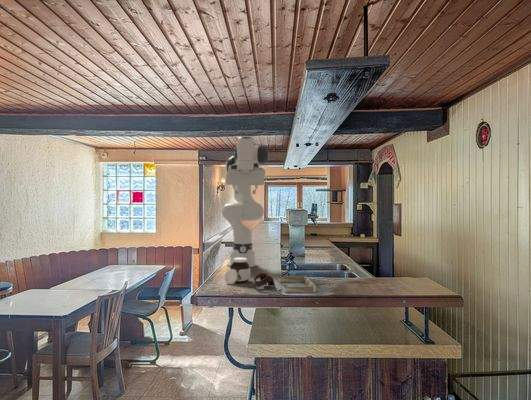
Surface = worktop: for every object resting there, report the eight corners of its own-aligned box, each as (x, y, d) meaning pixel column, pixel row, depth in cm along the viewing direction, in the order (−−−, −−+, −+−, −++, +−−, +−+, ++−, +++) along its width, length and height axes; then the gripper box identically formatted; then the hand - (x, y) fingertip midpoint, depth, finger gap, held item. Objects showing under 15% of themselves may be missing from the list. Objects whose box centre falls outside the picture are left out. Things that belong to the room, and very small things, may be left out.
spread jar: (251, 280, 179) (251, 257, 179) (247, 285, 168) (247, 261, 168) (227, 279, 180) (228, 256, 180) (223, 284, 169) (223, 260, 169)
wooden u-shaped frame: (277, 281, 176) (277, 275, 176) (305, 281, 178) (306, 275, 178) (283, 292, 156) (283, 285, 156) (315, 291, 158) (316, 284, 158)
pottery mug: (278, 291, 161) (271, 276, 158) (260, 300, 160) (252, 286, 157) (273, 278, 172) (266, 265, 169) (255, 287, 171) (248, 273, 169)
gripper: (264, 168, 186) (264, 194, 186) (225, 167, 184) (225, 193, 184) (265, 166, 180) (265, 193, 180) (225, 166, 178) (225, 193, 178)
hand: (245, 193), depth 182 cm, fingers open, 8 cm apart
